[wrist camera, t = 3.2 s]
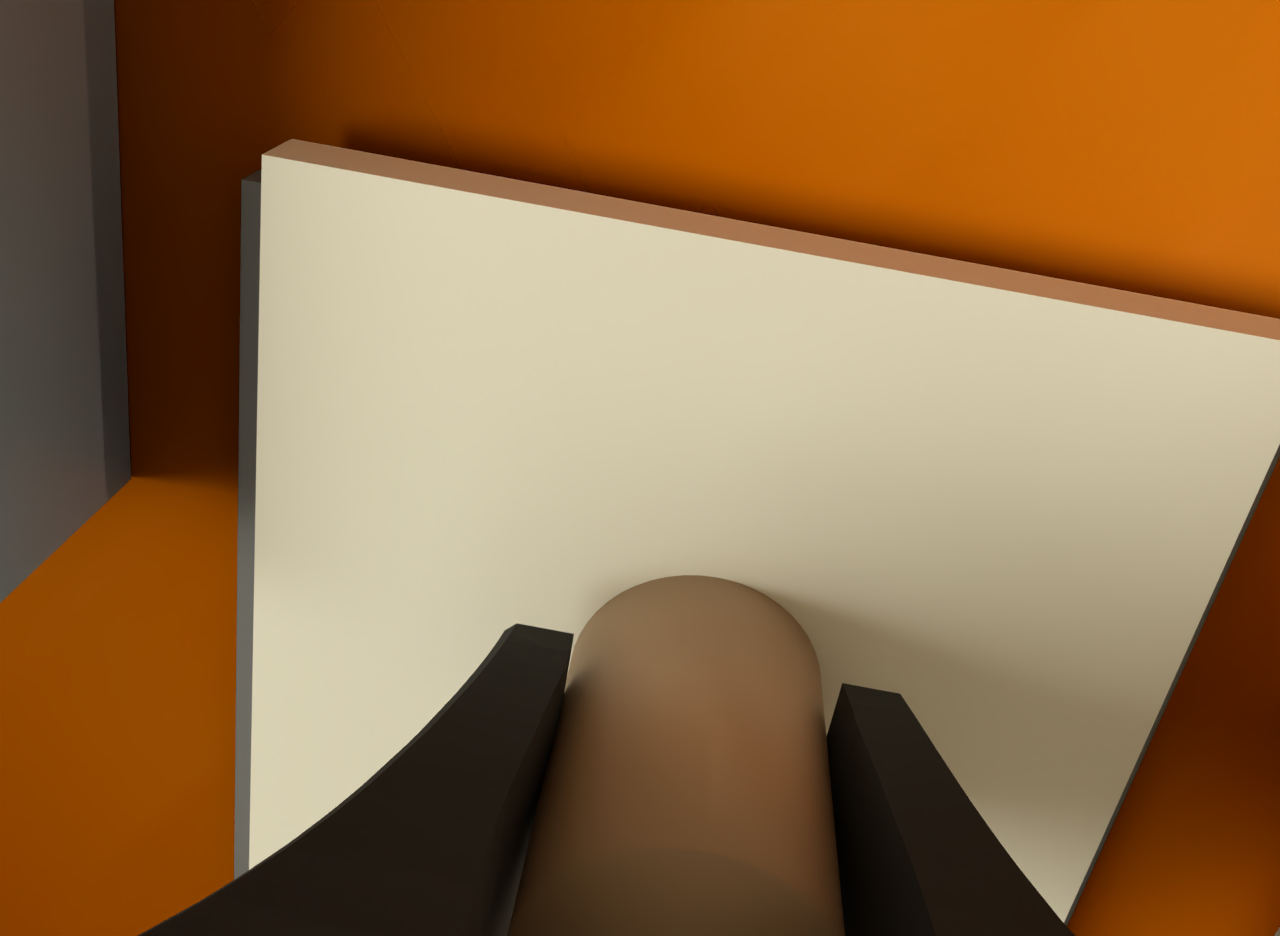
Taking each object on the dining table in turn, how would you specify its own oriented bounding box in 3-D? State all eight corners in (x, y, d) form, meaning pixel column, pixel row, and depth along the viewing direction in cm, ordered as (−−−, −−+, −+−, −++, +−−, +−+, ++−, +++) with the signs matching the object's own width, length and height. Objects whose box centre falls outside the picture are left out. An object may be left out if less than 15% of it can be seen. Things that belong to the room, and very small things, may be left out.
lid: (991, 1007, 16) (1080, 1414, 12) (270, 875, 16) (96, 1232, 12) (1287, 320, 12) (1604, 569, 7) (291, 138, 12) (25, 280, 7)
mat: (988, 1054, 17) (994, 1085, 17) (246, 918, 17) (232, 945, 17) (1294, 357, 12) (1315, 375, 12) (259, 168, 12) (241, 179, 12)
